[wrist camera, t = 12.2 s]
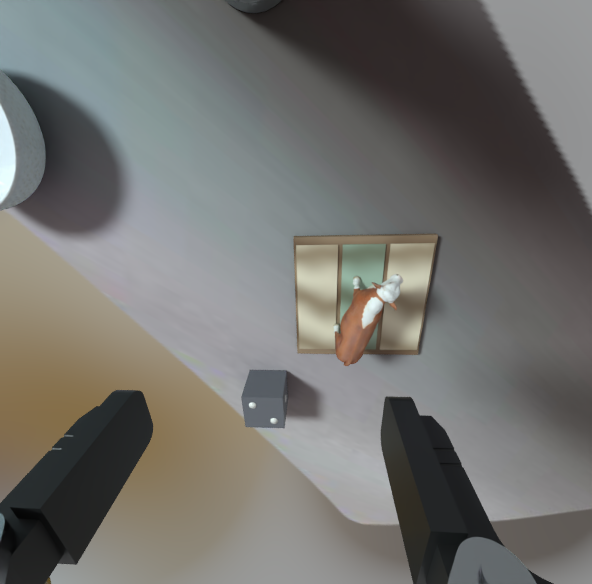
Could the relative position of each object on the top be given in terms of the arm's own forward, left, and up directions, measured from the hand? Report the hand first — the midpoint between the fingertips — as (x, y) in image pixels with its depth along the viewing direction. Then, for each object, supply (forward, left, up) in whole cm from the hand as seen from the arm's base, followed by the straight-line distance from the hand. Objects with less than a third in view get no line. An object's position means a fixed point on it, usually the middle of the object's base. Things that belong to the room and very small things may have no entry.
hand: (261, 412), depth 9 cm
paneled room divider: (+10, +8, -30) cm, 33 cm away
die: (+26, -6, -30) cm, 40 cm away
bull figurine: (+10, +8, -29) cm, 32 cm away
